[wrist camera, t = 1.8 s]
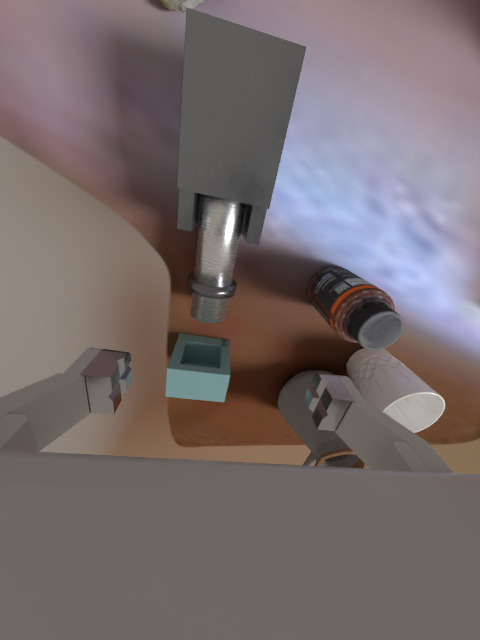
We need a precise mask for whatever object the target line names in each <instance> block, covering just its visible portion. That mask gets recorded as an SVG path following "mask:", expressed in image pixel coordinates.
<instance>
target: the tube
mask: <svg viewBox="0 0 480 640" xmlns="http://www.w3.org/2000/svg"><path fill="white" fill-rule="evenodd" d="M245 207H246V204H245V203H241V202H236V201H232V200H227V199H223V198H218V197H214V196H209V195H204V194H202V204H201V213H200V223H199V233H198V243H197V253H196V262H195V272H194V273H191V274H189V276H188V283H187V287H188V289H189V290H190V291H191V292H192V302H191V311H190V314H191V316H192V317H193V318H194V319H196V320H198V321H201V322H205V323H218V322H221V321H223V320H224V319H225V315H226V309H227V304H228V299H229V298H230V297H232V296H234V295H235V291H236V286H237V283H236V281H235V280H233V279H232V277H233V272H234V266H235V261H236V256H237V250H238V245H239V240H240V234H241V229H242V223H243V218H244V213H245Z"/></svg>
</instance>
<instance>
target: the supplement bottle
mask: <svg viewBox="0 0 480 640" xmlns="http://www.w3.org/2000/svg"><path fill="white" fill-rule="evenodd" d="M308 297H309V300H310V302H311V303H312V305H313V306H314V307H315V308H316V310H317V311H318V312H319V313H320V314H321V316H322V317H323V318H324V319H325V320H326V322H327V323H328V324H329V325H330V326H331V328H332V329H333V330H334V331H335V332H336V333H337V335H339V336H340V337H341V338H342V339H344V340H346V341H349V342H354V343H359V344H360V345H361V346H362V347H364V348H366V349H369V350H379V349H383V348H385V347H388V346H389V345H391V344H392V343H394V342H395V341H396V340H397V339H398V338H399V336H400V335H401V333H402V331H403V326H404V323H403V319H402V317H401V316H400V315H399V314H398V313H396V312H395V307H394V303H393V300H392V299H391V297H390V296H389V295H388V294H387V293H386V292H384V291H383V290H381V289H379V288H378V287H376V286H374V285H372V284H371V283H369V282H367V281H365V280H364V279H362V278H360V277H359V276H357V275H355V274H353V273H352V272H350V271H348V270H347V269H344V268H342V267H337V266H333V267H328V268H325V269H323V270H321V271H320V272H318V273H317V274H316V275H315V276H314V277H313V278H312V280H311V282H310V284H309V288H308Z"/></svg>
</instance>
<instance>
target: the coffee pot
mask: <svg viewBox="0 0 480 640" xmlns="http://www.w3.org/2000/svg"><path fill="white" fill-rule="evenodd" d="M315 374H325V375H334V376H336V375H335V374H333V373H331V372H327V371H322V370H309V371H304V372H301V373H299V374H297V375H295V376H294V377H292V378H291V379H290V380H289V381H288V382H287V383H286V384H285V385H284V386H283V388H282V390H281V391H280V394H279V398H278V409H279V412H280V413H281V415H282V416H283V418H284V419H285V420H286V421H287V423H288V424H289V425H290V426H291V427H292V429H293V430H294V431H295V432H296V433H297V435H298V436H299V437H300V438H301V439H302V441H303V442H304V443H305V444H306V445H307V447H308V448H309V449H310V450H311V453H310V454H309V456H308V458H307V459H306V461H305V462H304V464H303V465H304V466H311V465H312V464H313V463H314V461H315V460H316V464H315V466H323V467H343V468H362V469H366V467H367V465H366V464H365V463H364V462H363V461H362V460H361V459H360V458H359V457H358V456H357V455H356V454H355V453H354V452H353V451H352V449H351V448H350V447H349V446H348V445H347V444H346V443H345V442H344V441H343V440H342V439H341V438H340V437H339V436H338V435H337V434H336V431H328V430H318V429H317V428H316V425H315V423H314V420H313V418H312V414H313V412H312V411H311V410H310V409H309V408H308V406H307V403H306V392H307V389H308V387H309V386H311V385H312V384H313V383H312V378H313V376H314V375H315Z"/></svg>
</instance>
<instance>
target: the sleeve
mask: <svg viewBox="0 0 480 640" xmlns="http://www.w3.org/2000/svg"><path fill="white" fill-rule="evenodd" d="M305 50H306V47H305V46H302V45H299V44H296V43H293V42H290V41H287V40H284V39H281V38H278V37H275V36H272V35H269V34H265V33H262V32H259V31H256V30H253V29H250V28H247V27H244V26H241V25H238V24H235V23H232V22H229V21H226V20H223V19H220V18H217V17H214V16H211V15H208V14H205V13H202V12H199V11H196V10H193V9H190V8H187V10H186V29H185V47H184V66H183V84H182V103H181V121H180V140H179V158H178V177H177V189H179V204H178V221H177V229H181V230H186V231H192V230H193V229H194V228H195V227H196V226H199V223H200V213H201V204H202V194H204V195H209V196H214V197H218V198H223V199H227V200H232V201H236V202H241V203H245V204H246V207H245V213H244V218H243V223H242V229H241V234H243V237H244V239H245V242H247V243H252V244H257V245H259V241H260V237H261V232H262V228H263V224H264V219H265V215H266V210H267V208H268V209H269V206H270V202H271V198H272V193H273V189H274V185H275V180H276V176H277V172H278V167H279V163H280V159H281V154H282V150H283V146H284V141H285V137H286V133H287V128H288V124H289V120H290V115H291V111H292V107H293V102H294V98H295V94H296V89H297V85H298V81H299V76H300V72H301V68H302V63H303V59H304V55H305Z"/></svg>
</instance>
